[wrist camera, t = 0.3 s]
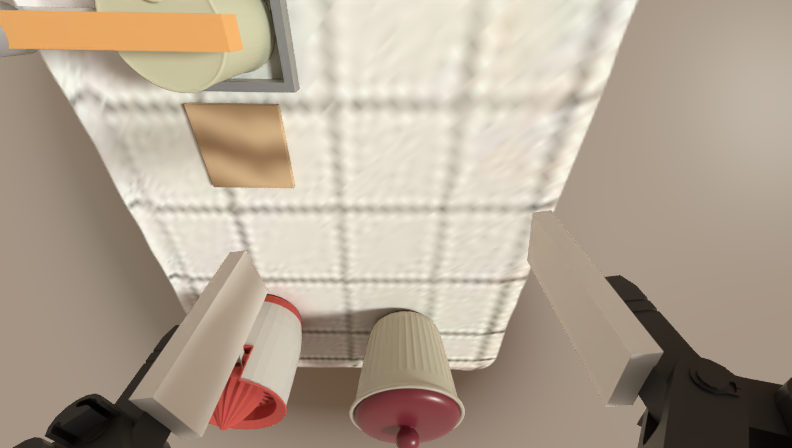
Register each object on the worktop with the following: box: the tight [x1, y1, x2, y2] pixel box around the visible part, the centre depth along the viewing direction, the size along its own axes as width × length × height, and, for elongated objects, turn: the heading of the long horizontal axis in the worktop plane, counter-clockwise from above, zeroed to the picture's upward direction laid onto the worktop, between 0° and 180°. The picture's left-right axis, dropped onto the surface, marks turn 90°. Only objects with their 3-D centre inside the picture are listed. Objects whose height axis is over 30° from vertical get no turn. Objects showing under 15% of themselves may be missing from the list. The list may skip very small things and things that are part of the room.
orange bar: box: [0, 1, 243, 57], centre depth 19 cm, size 3×16×2 cm, turn 89°
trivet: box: [184, 103, 295, 188], centre depth 40 cm, size 11×11×1 cm
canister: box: [350, 311, 465, 448], centre depth 53 cm, size 18×18×21 cm
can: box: [94, 0, 275, 93], centre depth 27 cm, size 9×9×12 cm
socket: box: [14, 0, 299, 92], centre depth 26 cm, size 12×16×14 cm
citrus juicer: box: [209, 295, 302, 430], centre depth 50 cm, size 16×17×20 cm
